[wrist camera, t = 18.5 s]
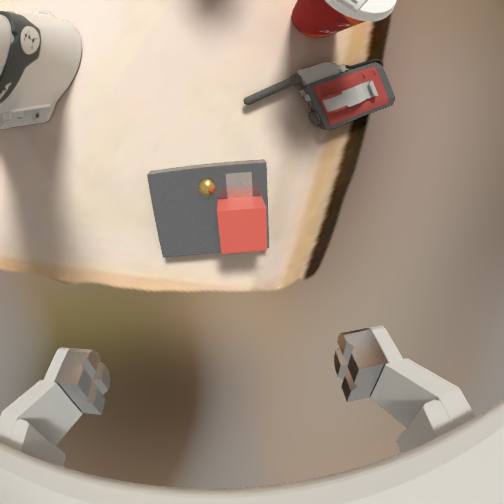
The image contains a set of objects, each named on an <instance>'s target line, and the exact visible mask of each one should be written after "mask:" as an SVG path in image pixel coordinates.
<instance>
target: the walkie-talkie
mask: <svg viewBox="0 0 504 504" xmlns="http://www.w3.org/2000/svg"><path fill="white" fill-rule="evenodd" d="M372 62H373V63H372ZM376 62H378V63H379V64H378V63H376ZM346 68H348V69H349V70H345V69H346ZM351 68H352V69H351ZM296 72H297V75H294V76H292V77H290V79H287V80H285V81H282V82H280V83H277V84H275V85H273V86H270V87H268V88H266V89H264V90H261V91H259V92H257V93H255V94H253V95H250V96H248V97H246V98H245V99H244V104H246V105H250V104H252V103H254V102H256V101H258V100H261V99H263V98H265V97H267V96H269V95H272V94H274V93H276V92H279V91H281V90H283V89H286V88H288V87H290V86H293V85H294V86H296V85H298V84H301V83H302V84H303V88H302V89H301V91H299V93H300V95H301V96H304V99H305V100H306V101H308V103H309V105H310V107H311V109H312V112H310V113H309V117H310V119H311V121H312V123H313V124H314V125H315V126H316V127H317V126H319V127H320V128H322V129H326V130H332V129H335V128H337V127H339V126H341V125H343V124H347V123H349V122H351V121H353V120H356V119H358V118H361V116H364V115H368V114H371V113H372V112H374V111H377V110H380V109H383V108H387V107H389V106H390V105H391V106H392V105H393V103H394V101H395V96H394V94H393V91H392V89H391V86H390V83H389V81H388V78H387V76H386V73H385V71H384V69H383V62H382V61H381V60H379V59H373V60H369V61H366V62H363V63H359V64H356V65H352V66H349V65H344V64H343V65H337V64H334V63H330V62H323V63H320V64H317V65H315V66H312V67H309V68H303V69H300V70H298V71H296Z"/></svg>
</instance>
